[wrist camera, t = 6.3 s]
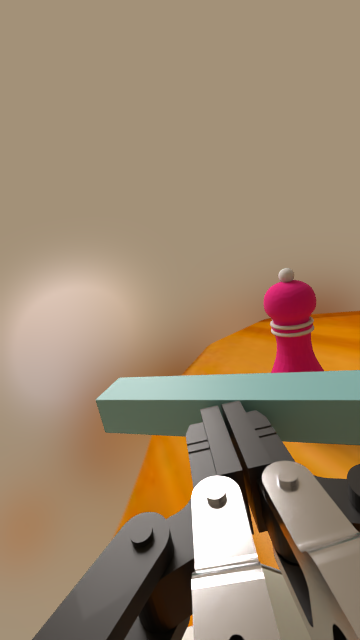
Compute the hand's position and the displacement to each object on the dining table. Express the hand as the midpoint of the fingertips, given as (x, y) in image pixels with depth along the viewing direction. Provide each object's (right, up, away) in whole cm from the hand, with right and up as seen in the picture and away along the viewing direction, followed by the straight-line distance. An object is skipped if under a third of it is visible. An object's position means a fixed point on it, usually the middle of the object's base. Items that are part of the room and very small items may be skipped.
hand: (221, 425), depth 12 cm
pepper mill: (+15, -9, +28) cm, 33 cm away
